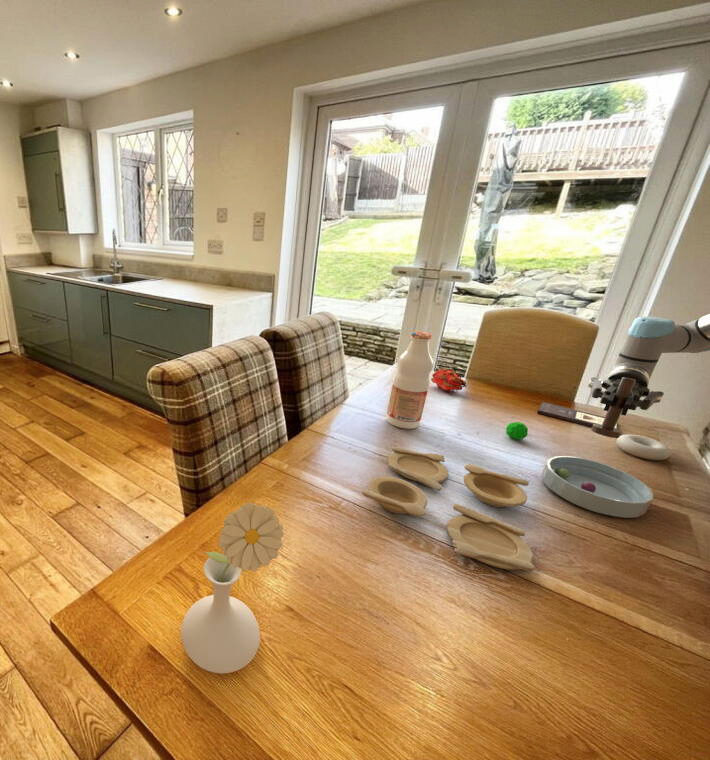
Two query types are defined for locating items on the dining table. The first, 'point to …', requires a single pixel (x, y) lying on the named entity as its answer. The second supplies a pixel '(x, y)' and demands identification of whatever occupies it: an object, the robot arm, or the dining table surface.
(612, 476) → the bowl
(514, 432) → the polyhedron
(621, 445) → the donut
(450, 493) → the dining table surface
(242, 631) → the flower in vase
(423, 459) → the tableware set
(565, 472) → the bead
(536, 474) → the dining table surface
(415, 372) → the fruit juice
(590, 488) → the bead
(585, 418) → the chocolate bar
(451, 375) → the dragon fruit
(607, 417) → the brown wooden peg
